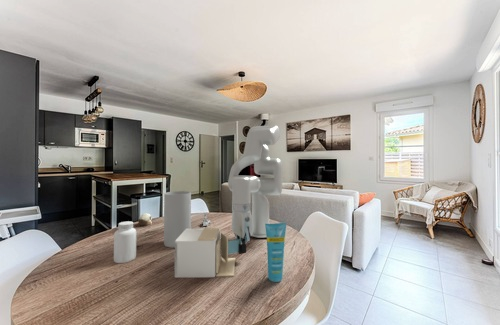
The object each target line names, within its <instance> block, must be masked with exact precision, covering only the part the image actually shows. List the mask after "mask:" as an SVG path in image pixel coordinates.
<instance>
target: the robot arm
mask: <svg viewBox="0 0 500 325" xmlns="http://www.w3.org/2000/svg"><path fill="white" fill-rule="evenodd" d="M280 137H281V130H280V128H279V126H278V125H258V126H252V127H251V128H249V130H248V132H247V136H246V141H245V145H244V149H243V153H242V155H241V156H240V157H238V159H236V161H235V162H234V163H233V164H232V166H231V168H230V171H229V176H228V182H227V188H228V189H229V191H230V192H231V193H232V194H231V195H232V196H231V197H232V198H231V199H232V200H231V212H232V213H231V214H232V215H231V231H232V233H233V234H234V236H235V240H236V239H240V244H239V252H238V255H243V254H246V253H247V243H248V242H250V241H251V240H250V239H251V238H250V237H254V238H259V239H261V238H267V237H266V228H265V223H266V224H270V202H269V199H268V197H266V196H279V195H281V194H282V191H283V162H282V159H280V158H277V157H274V158H273V157H270V148H269V146H274V145H276V143H277V142H278V140H280ZM251 165H253V170H254V171H253V172H254V173H255V174H256V175H260V176H261V177H258V176H255V175H246V174H245V175H241V174H240V172H242V170H243V169H245V168H246V167H248V166H251ZM239 174H240V175H239ZM264 176H273V177H264ZM242 238H243V239H242Z"/></svg>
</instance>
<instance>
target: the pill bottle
mask: <svg viewBox="0 0 500 325" xmlns="http://www.w3.org/2000/svg"><path fill="white" fill-rule="evenodd" d="M117 225H118V226H117V230H116V231H114V234H113V262H114V263H116V264H126V263H130V262H132V261H134V260H135V259H136V257H137V230H136V228H135V227H134V222H133V221H129V220H128V221H121V222H119V223H117Z"/></svg>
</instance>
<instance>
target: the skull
mask: <svg viewBox="0 0 500 325" xmlns="http://www.w3.org/2000/svg"><path fill="white" fill-rule="evenodd" d="M152 220H153V218H152V215H151V214H150V213H147V212H145V213H142V214H141V215H140V216H139V217H138V221H137V223H136V224H134V227H137V226H139V227H147V226H149V225H151V224H152V223H153V222H152Z"/></svg>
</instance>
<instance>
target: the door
mask: <svg viewBox="0 0 500 325" xmlns="http://www.w3.org/2000/svg"><path fill="white" fill-rule="evenodd" d="M242 239H244V238H242ZM239 244H240V239H236V238H235V239H231V240H229V237H228V236H227V235H226V234H225V233H224V232H220V258H223V259H224V260H225V261H226V262H227V263H228V258H229V255H233V254H236V253H239Z"/></svg>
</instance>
